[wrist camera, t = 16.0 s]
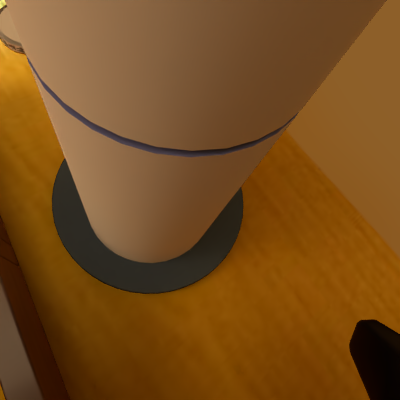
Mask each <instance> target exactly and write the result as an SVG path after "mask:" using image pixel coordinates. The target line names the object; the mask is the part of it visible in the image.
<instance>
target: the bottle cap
mask: <svg viewBox="0 0 400 400" xmlns="http://www.w3.org/2000/svg"><path fill="white" fill-rule="evenodd" d="M0 39H1V41H2V42H3V43H4V44H5V45H6V46H7V47H9V48H10V49H12V50H14V51H17V52H20V53H25V52H24V49H23V46H22V44H21V41H20V39H19V36H18V33H17V31H16V28H15V25H14V23H13V20H12V17H11V15H10V12H9V10H8V7H7V5H5V6H4V7H2V8H1V9H0Z"/></svg>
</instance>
